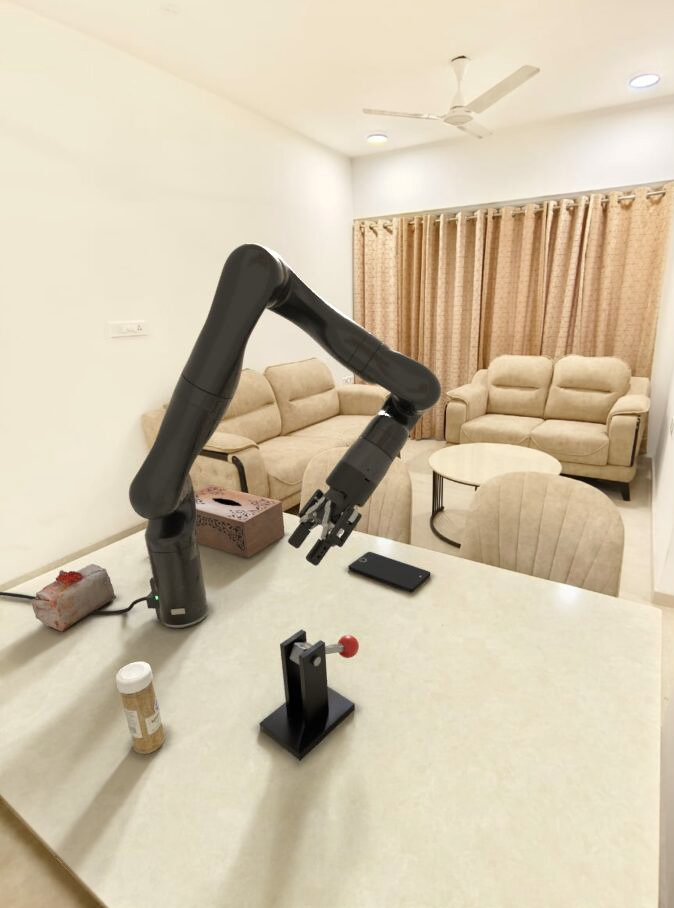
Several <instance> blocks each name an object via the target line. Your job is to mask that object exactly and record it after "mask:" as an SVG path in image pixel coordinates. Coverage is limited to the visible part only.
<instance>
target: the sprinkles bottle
mask: <svg viewBox="0 0 674 908" xmlns="http://www.w3.org/2000/svg"><path fill="white" fill-rule="evenodd" d="M153 676H154V675H153V672H152V667H151V665H150V664H149V663H147V662H146V661H134V662H131V663H128V664H126V665H125V666H123V667H121V668H120V670H118V671H117V672H116V675H115V683H116V688H117V690H118V692H119V693H120V697H121V701H122V707H123V711H124V714H125V719H126V723H127V726H128V730H129V734H130V735H131V738H132V742H133V744H132V747H133V750H134V751H135V752H136V753H138V754H141V755H146V754H151V753H153V752H155V751H157V750H158V749H160V747H161V746H162V745H163V744H164V743H165V740H166V732H165V730H164V727H163V722H162V715H161V712H160V707H159V702H158V698H157V695H156V691H155V687H154V682H153V678H154V677H153Z"/></svg>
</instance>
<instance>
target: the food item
mask: <svg viewBox="0 0 674 908" xmlns="http://www.w3.org/2000/svg"><path fill="white" fill-rule="evenodd" d="M58 573H59V574H58V576H56V577H55V581H52V582H51V583H49V584H47V585H45V586H44V587H43V588H42V589H40V590H39V591H37V592H36V593H35V597H36V598H35V599H31V601H30V602H29V603H30V605H31V606H32V610H33V613H34V616H35V619H36V620H39V621H40V622H41V623H42V624H43V625H44V626H46V627H50V628H52V629H55V630H57V631H59V632H64V631H65V630H67V629H68V628H71V627H72V626H73V625H74V624H76V623H77V622H79V621H80V620H82V619H84V618H85V617H86V616H88V615H91V614H92V613H91V612H92V611H94V610H100V609H101V608H102V607H103V606H105V605H107V604H109V603H110V602H112V601H113V600H115V599H117V596H116V595H115V593H114V592H115V591H114V586H113V584H112V581H111V577H110V576H109V573H108V571H107V568H103V567H101V566H100V565H97V564H94V563H91V564H89V565H87V566H85V567H83V568H80V569H79V570H77V571H76V570H70V571H64V570H63V569H60V570H59V572H58Z"/></svg>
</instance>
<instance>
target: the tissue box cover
mask: <svg viewBox="0 0 674 908" xmlns="http://www.w3.org/2000/svg"><path fill="white" fill-rule="evenodd" d="M194 495H195V503H196V512H197V525H196V536H197V542H198V544H202V545H205V546H209V547H211V548H215V549H217V550H221V551H224V552H228V553H230V554H234V555H236V556H240V557H243V558H246V559H249V558H251V557H252V556H254V555H256V554H257V553H259V552H260V551H262V550H263V549H265V548H267V547H268V546H270V545H271V544H273V543H274V542H276V541H278V540H279V539H281V538H282V537H284V536H285V535H286V534H285V533H286V532H285V523H284V510H283V509H284V508H283V501H281V500H277V499H273V498H269V497H265V496H261V495H256V494H252V493H248V492H244V491H240V490H236V489H231V488H227V487H222V486H219V485H215V484H210V485H209V486H206V487H204V488H201V489H200V490H198V491H194Z"/></svg>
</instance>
